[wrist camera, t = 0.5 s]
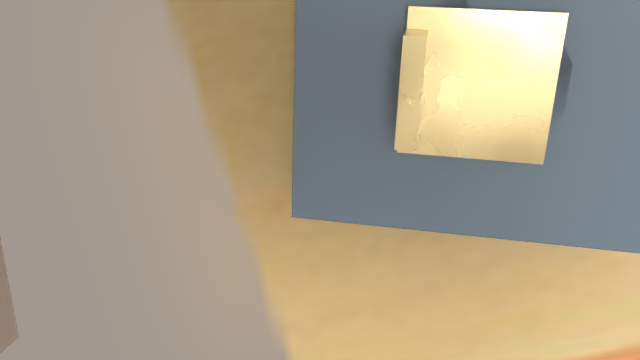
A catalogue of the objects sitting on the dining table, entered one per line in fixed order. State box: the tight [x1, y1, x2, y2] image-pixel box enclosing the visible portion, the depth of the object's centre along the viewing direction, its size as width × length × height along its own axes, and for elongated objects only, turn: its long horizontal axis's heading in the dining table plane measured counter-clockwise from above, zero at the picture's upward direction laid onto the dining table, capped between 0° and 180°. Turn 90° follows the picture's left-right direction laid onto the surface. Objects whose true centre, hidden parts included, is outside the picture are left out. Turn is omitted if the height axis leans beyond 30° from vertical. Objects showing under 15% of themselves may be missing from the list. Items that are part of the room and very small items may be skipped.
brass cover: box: [394, 5, 569, 165], centre depth 27 cm, size 7×7×4 cm
